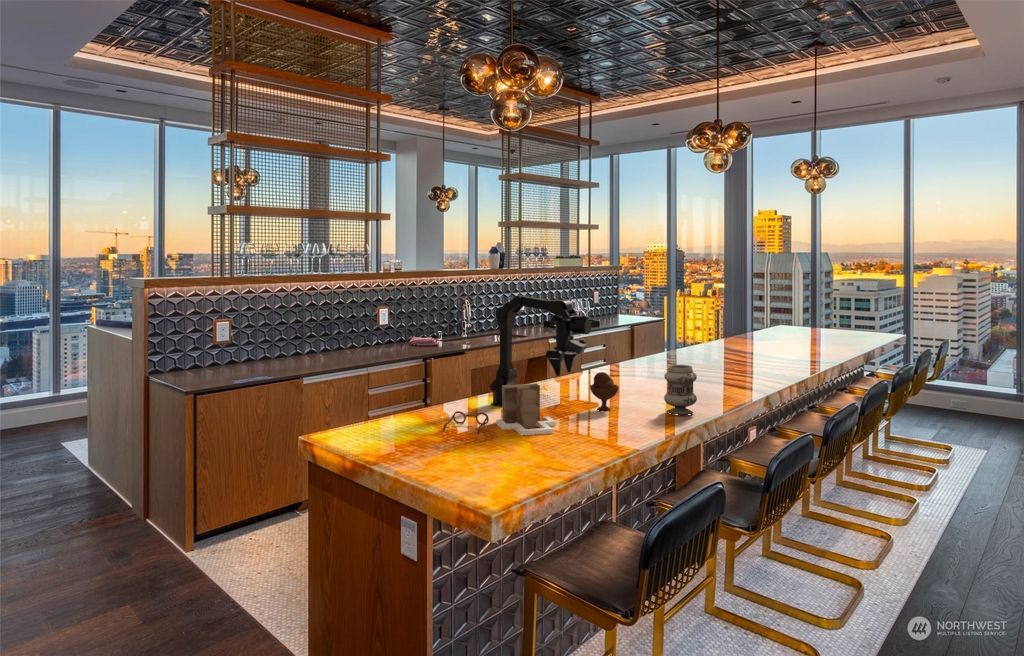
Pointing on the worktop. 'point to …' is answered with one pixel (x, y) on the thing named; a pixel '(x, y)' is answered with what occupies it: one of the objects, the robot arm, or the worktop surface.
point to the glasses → (465, 419)
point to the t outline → (522, 431)
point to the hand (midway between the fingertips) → (563, 374)
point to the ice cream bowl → (603, 389)
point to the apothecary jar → (680, 389)
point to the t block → (521, 404)
